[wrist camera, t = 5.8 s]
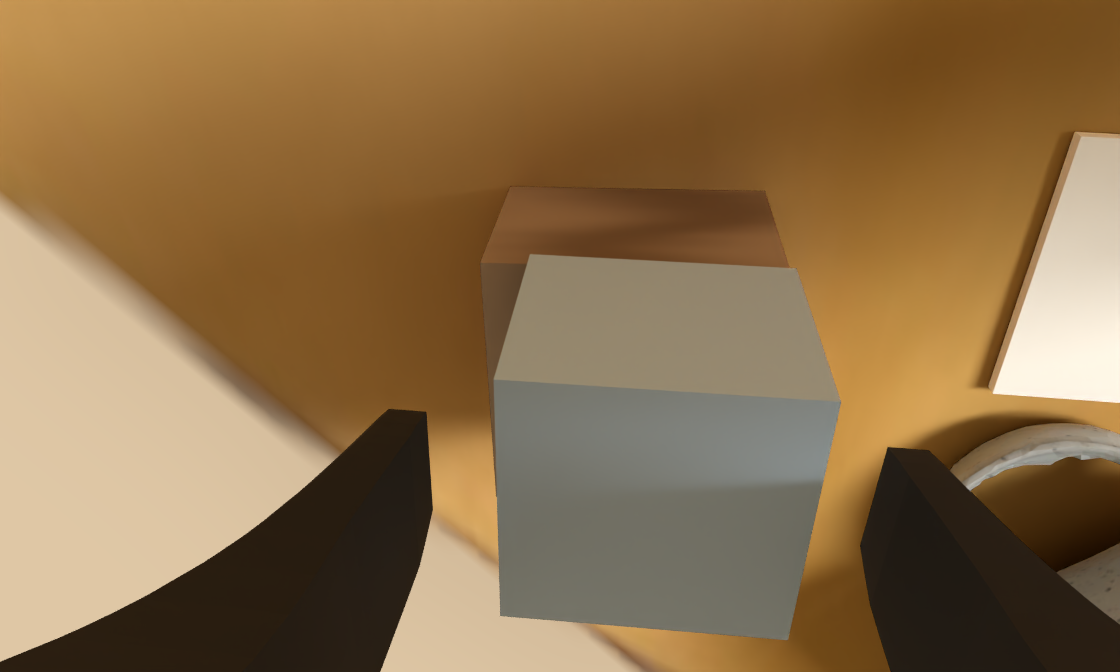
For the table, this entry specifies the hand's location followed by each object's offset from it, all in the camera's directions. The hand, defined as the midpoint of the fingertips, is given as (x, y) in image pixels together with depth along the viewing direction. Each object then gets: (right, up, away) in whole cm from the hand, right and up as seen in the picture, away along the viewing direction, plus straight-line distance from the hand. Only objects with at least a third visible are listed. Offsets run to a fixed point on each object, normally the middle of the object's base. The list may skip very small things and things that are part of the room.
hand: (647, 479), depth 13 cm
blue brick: (0, +2, +2) cm, 3 cm away
